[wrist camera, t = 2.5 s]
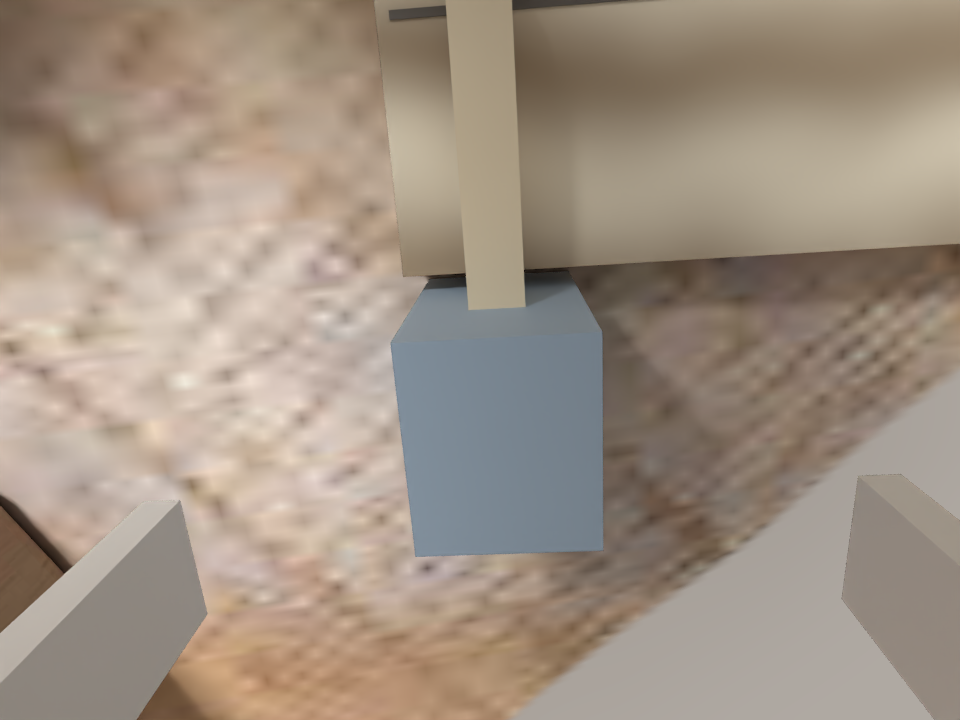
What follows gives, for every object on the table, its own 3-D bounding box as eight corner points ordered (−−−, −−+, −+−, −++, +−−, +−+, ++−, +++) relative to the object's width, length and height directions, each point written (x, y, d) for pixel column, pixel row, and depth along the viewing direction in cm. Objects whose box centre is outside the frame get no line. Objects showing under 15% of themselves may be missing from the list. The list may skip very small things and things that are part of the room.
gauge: (403, -3, 19) (337, -106, 12) (562, -17, 19) (600, -131, 11) (443, 430, 24) (415, 556, 16) (571, 424, 24) (603, 550, 16)
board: (373, -139, 18) (353, -185, 16) (1082, -209, 17) (1179, -270, 15) (414, 263, 22) (402, 277, 19) (997, 228, 21) (1062, 237, 18)
